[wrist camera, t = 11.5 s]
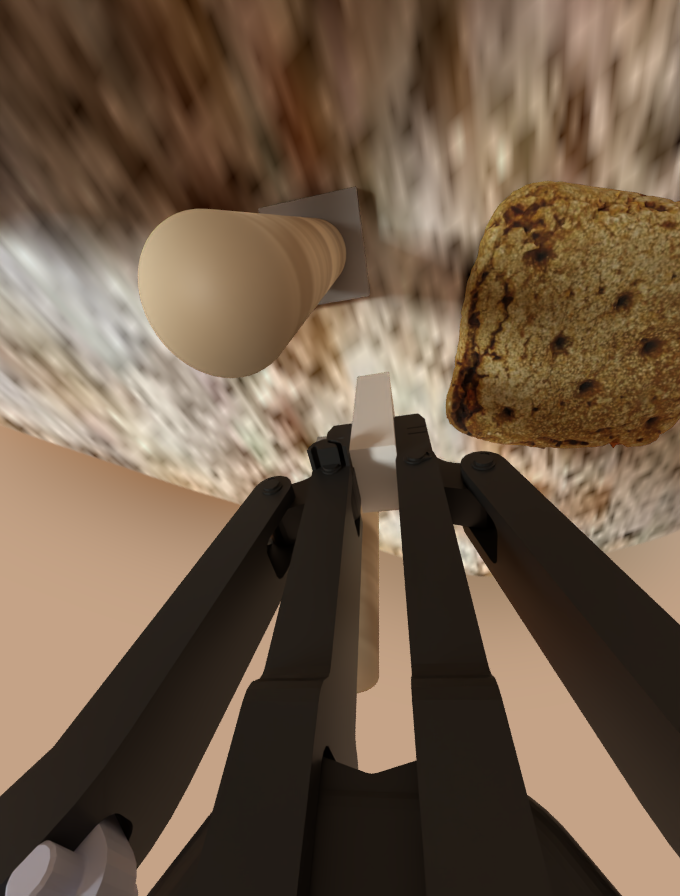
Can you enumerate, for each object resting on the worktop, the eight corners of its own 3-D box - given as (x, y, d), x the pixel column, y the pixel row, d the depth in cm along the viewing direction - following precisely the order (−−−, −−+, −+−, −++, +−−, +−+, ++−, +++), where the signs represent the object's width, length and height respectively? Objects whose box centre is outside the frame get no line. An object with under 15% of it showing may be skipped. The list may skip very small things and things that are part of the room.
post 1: (286, 307, 22) (157, 425, 9) (263, 209, 19) (40, 180, 7) (370, 293, 21) (356, 400, 8) (356, 188, 18) (308, 109, 6)
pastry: (791, 352, 21) (848, 370, 19) (509, 494, 28) (522, 521, 25) (695, 32, 15) (760, -7, 13) (367, 313, 22) (366, 325, 19)
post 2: (330, 492, 29) (292, 704, 16) (317, 437, 26) (260, 637, 14) (394, 486, 28) (407, 705, 15) (386, 429, 26) (395, 635, 13)
